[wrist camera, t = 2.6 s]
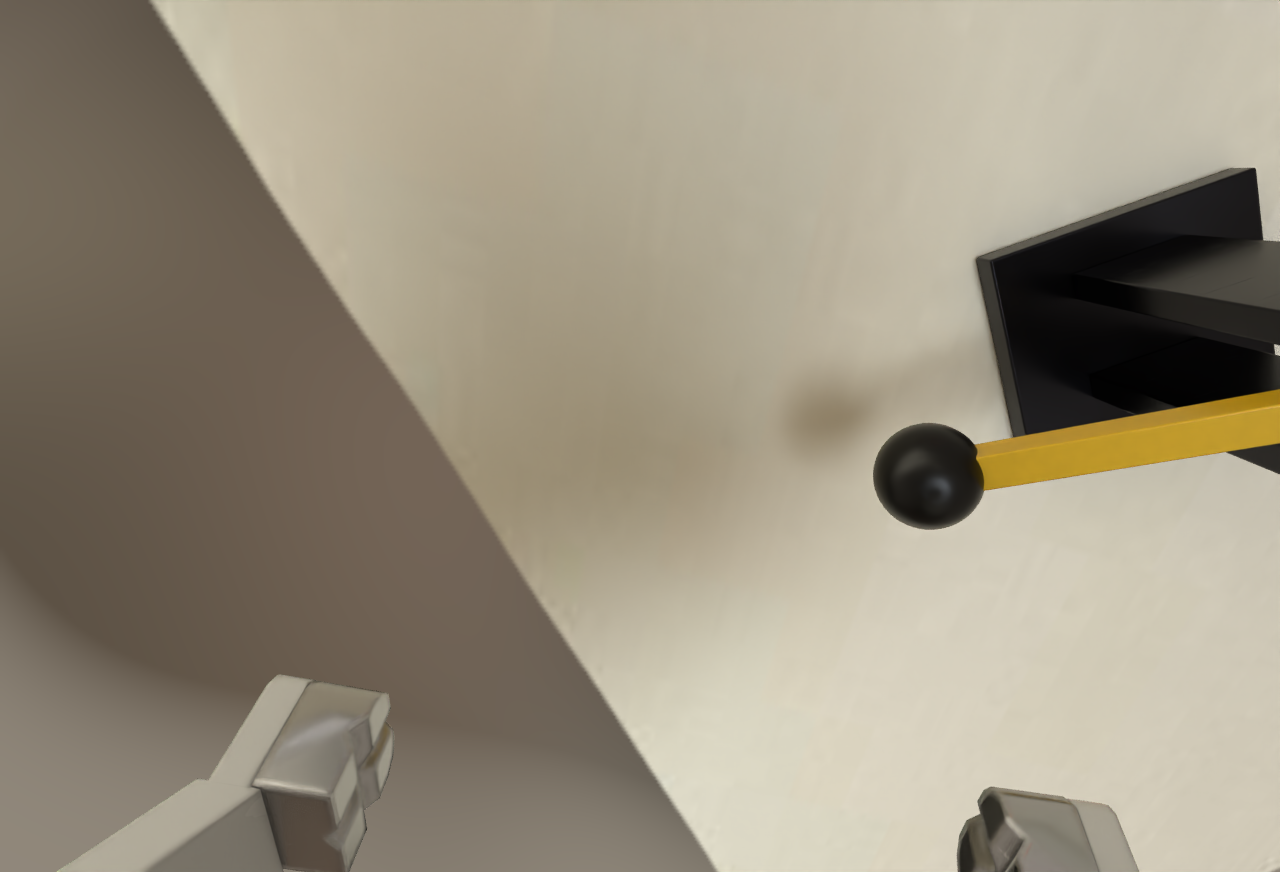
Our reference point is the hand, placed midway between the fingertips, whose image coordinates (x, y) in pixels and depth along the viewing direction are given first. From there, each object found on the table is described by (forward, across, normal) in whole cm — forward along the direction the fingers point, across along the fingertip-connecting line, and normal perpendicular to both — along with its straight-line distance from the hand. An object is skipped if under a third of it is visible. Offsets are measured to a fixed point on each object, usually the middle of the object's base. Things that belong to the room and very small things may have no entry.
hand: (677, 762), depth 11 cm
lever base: (+24, -16, +2) cm, 29 cm away
